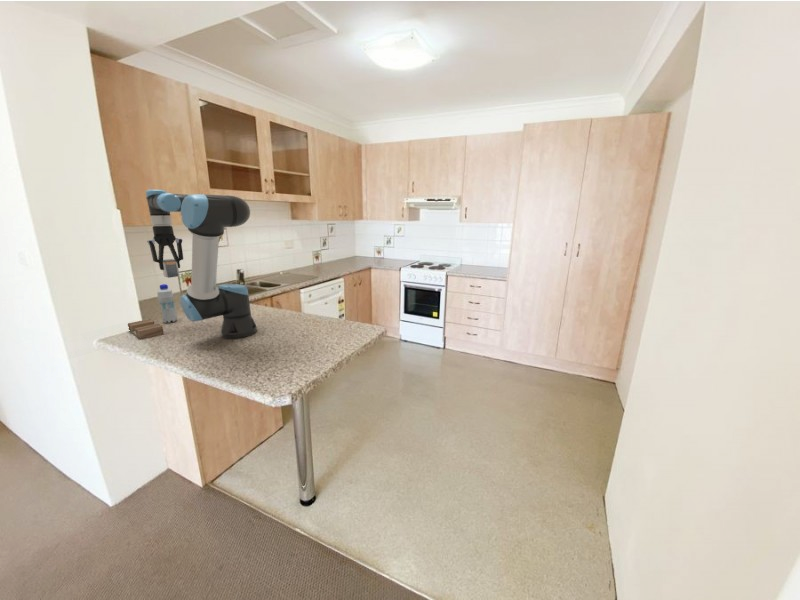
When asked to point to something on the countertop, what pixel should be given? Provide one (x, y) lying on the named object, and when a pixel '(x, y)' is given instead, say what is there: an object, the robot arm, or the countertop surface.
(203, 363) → the countertop surface
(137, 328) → the brown ridged block
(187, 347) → the countertop surface
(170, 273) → the grey rectangular block
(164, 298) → the bottle
